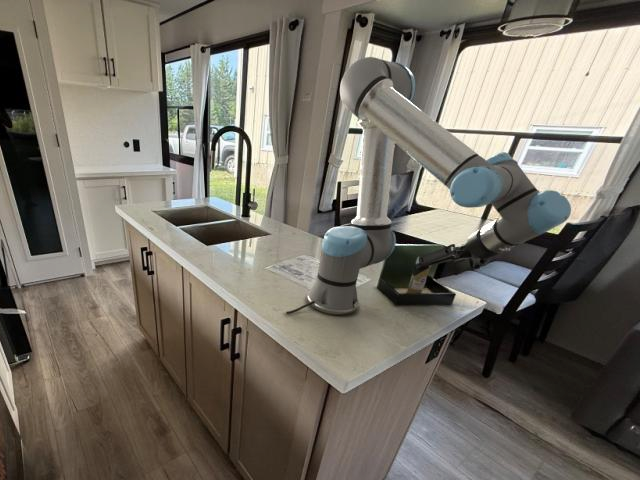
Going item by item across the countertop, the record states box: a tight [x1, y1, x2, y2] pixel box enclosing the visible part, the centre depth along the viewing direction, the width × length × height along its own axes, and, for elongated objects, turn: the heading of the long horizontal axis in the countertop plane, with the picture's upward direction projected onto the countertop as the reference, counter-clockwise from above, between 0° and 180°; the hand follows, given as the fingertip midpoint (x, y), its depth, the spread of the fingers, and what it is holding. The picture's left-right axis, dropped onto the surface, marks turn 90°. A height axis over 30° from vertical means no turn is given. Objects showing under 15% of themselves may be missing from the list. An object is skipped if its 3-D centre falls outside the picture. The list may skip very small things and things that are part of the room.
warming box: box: [376, 243, 457, 307], centre depth 106 cm, size 20×13×16 cm, turn 96°
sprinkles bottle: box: [405, 257, 431, 293], centre depth 107 cm, size 5×5×13 cm
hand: (433, 271), depth 100 cm, fingers open, 13 cm apart
